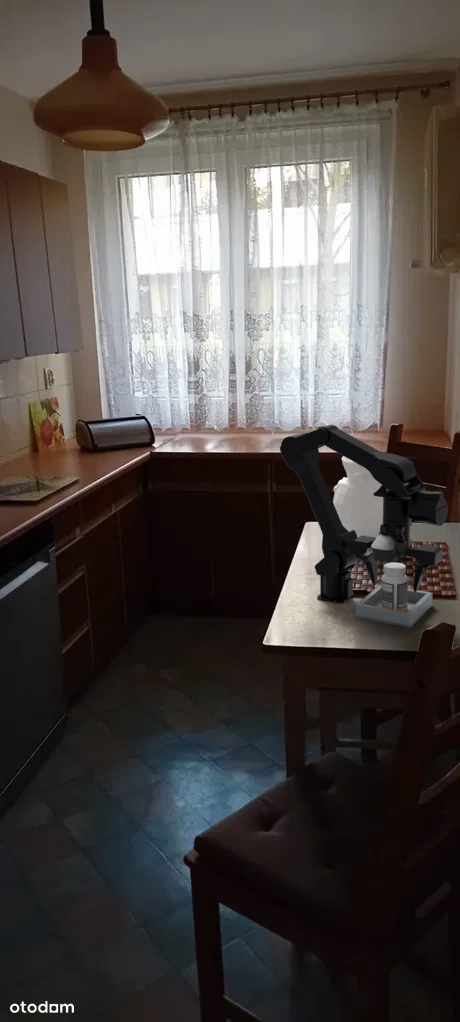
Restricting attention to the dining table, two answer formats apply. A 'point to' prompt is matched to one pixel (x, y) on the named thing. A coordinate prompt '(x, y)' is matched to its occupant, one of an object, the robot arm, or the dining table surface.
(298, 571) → the dining table surface
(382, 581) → the pill bottle
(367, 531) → the pitcher
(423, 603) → the tray
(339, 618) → the dining table surface
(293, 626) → the dining table surface
